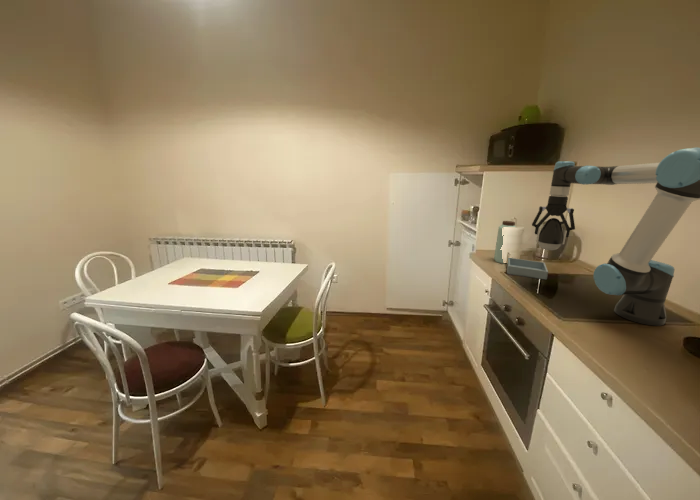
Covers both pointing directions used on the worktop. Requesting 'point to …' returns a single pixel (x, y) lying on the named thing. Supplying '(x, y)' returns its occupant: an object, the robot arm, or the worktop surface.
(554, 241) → the pump dispenser
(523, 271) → the bin
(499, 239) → the water bottle
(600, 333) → the worktop surface
